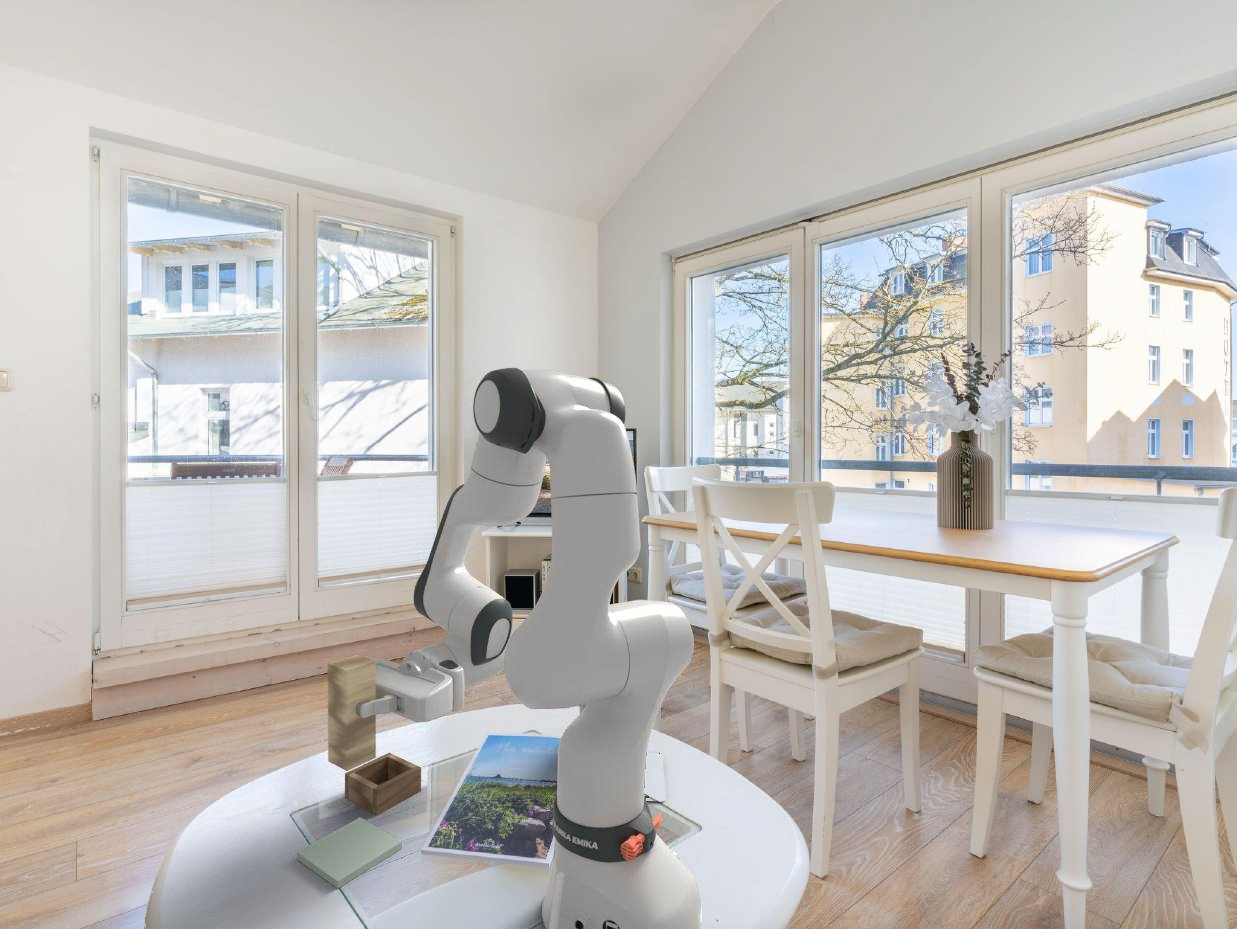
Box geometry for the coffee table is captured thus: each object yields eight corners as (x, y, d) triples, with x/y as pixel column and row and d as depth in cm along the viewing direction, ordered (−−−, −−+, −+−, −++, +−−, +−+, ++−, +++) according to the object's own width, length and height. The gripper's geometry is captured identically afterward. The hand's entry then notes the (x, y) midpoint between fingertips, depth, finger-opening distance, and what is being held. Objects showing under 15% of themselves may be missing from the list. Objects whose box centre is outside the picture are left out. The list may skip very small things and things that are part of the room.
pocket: (421, 790, 107) (421, 767, 107) (376, 815, 100) (376, 790, 100) (389, 774, 112) (389, 752, 111) (344, 797, 105) (344, 773, 104)
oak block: (375, 757, 91) (375, 661, 90) (346, 771, 87) (346, 670, 87) (356, 748, 93) (356, 654, 93) (328, 761, 90) (327, 663, 89)
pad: (401, 848, 92) (401, 841, 92) (337, 888, 84) (337, 881, 84) (360, 823, 98) (360, 817, 98) (296, 858, 89) (296, 851, 89)
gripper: (385, 643, 106) (305, 668, 95) (470, 670, 95) (391, 701, 84) (385, 681, 107) (305, 709, 95) (470, 712, 95) (391, 748, 84)
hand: (346, 706), depth 89 cm, fingers closed on oak block, 4 cm apart
